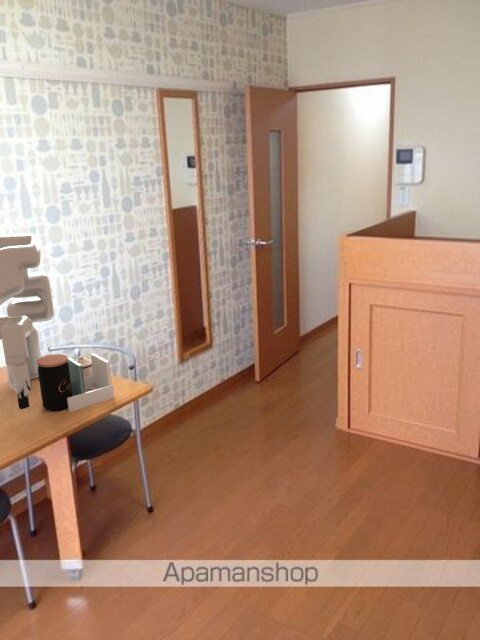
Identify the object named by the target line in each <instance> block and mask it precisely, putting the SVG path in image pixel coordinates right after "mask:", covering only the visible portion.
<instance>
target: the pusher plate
mask: <svg viewBox="0 0 480 640" xmlns="http://www.w3.org/2000/svg"><path fill="white" fill-rule="evenodd" d="M67 357H68V361H67V362H68V364H69V371H70V379H71V387H72V395H73V396H75V395H78V394H82V393H85V392H86V390H85V385H84V377H83V368H82V365H81V364H80V363H78V362H76V361H75V360H76V359H75V360H74V359H73V358H72V357H70V356H67Z"/></svg>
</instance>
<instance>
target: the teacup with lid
mask: <svg viewBox="0 0 480 640" xmlns="http://www.w3.org/2000/svg"><path fill="white" fill-rule="evenodd" d="M75 361H76V362H78V363H80V364H81V365H82V368H83V377H87V376H90V375H93V369H92V361H91V358H87V357H84V356H83V355H80V356H78V358H76V359H75Z"/></svg>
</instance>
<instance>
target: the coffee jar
mask: <svg viewBox="0 0 480 640" xmlns="http://www.w3.org/2000/svg"><path fill="white" fill-rule="evenodd" d="M68 357H69V356H67V355H66V354H58V353H57V354H56V353H55V354H49V355H44V356H41V358H40V359H38V360H37V365H38V376H39V378H38V383H39V389H40V395H41V402H42V403H41V404H42V408H43V409H45V410H46V411H48V412H52V413H55V412H61V411H65V410H68V403H67V398H68V397H72V396H73V395H72V387H71V379H70V371H69V364H68V362H67V361H68Z"/></svg>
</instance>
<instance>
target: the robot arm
mask: <svg viewBox="0 0 480 640" xmlns="http://www.w3.org/2000/svg"><path fill="white" fill-rule="evenodd" d="M41 249H42V245H41V239H40V237H39V236H38V234H36V233H32V232H31V233H16V234H15V233H13V234H2V235H0V306H1V305H2V304H4V303H5V302H6V301H8V300H10V299H12V298H13V299H17V300H14V301H11V302H9V303H8V305H7V306H6V312H7V316H5V317H3V316H1V317H0V340H1V343H2V349H3V354H4V356H3V357H4V359H5V360H4V361H5V365H6V370H7V380H8V381H7V382H8V385H9V388H10V389H11V390H12V391H14V392H15V393H16V397H17V403H18V404H17V405H18V409H20V410H24V409H27V408H30V401H29V396H30V394H29V391H31V390H32V382H31V380H33V379H34V380H35V379H39V376H38V365H37V360H38V359H40V358H41V357H42V354H41V353H42V352H41V346H40V339H39V333H38V330H37V329H36V327H35V326H33V325H34V324H33V323H43V322H48V321H51V320H52V319H53V317H54V313H55V312H54V310H55V309H54V303H53V299H52V298H53V297H52V290H51V285H50V284H51V283H50V279H49V277H48V275H47V274H46V273H44V272H43V271H37V272H36V271H35V272H29V271H28V270H29V269H36V268H38V267H40V264H41V251H42V250H41ZM32 297H33V298H32ZM35 297H38V298H35ZM22 298H24V299H22Z"/></svg>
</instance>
